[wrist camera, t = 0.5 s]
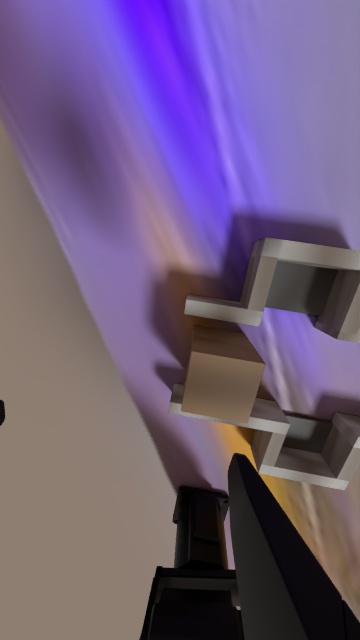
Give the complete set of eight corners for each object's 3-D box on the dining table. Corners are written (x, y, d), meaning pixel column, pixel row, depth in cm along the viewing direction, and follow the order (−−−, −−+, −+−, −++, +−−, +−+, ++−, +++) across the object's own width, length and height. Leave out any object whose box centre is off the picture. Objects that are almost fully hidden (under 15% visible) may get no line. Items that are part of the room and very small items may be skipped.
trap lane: (166, 430, 22) (160, 458, 19) (197, 234, 16) (197, 226, 13) (388, 472, 21) (424, 511, 18) (508, 279, 15) (595, 283, 12)
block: (232, 378, 20) (247, 423, 14) (185, 370, 20) (180, 411, 14) (244, 333, 19) (265, 364, 13) (193, 325, 19) (191, 351, 13)
